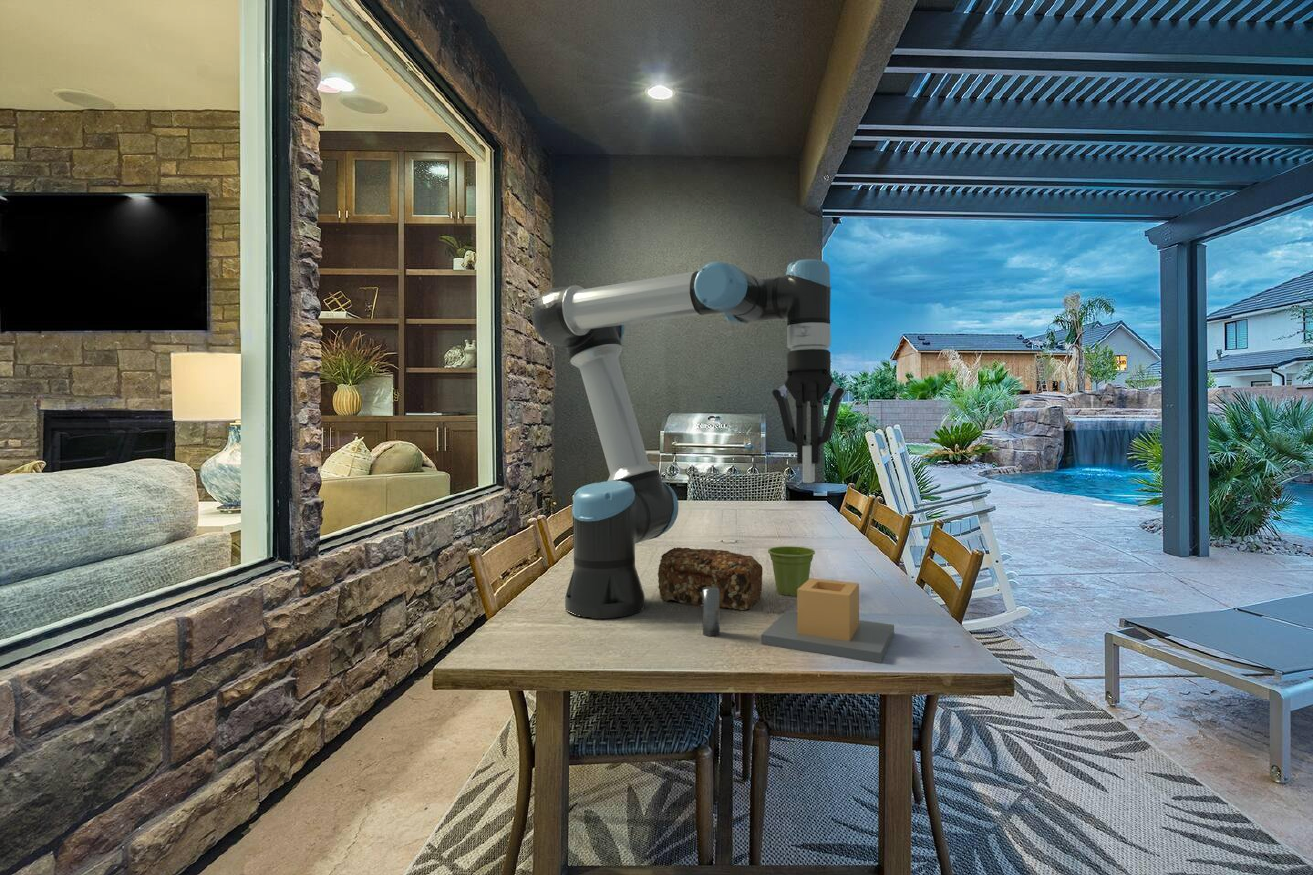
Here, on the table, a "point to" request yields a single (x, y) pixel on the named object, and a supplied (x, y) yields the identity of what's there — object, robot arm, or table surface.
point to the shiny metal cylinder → (711, 611)
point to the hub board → (862, 646)
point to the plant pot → (790, 567)
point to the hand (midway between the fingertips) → (808, 481)
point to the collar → (828, 609)
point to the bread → (710, 577)
